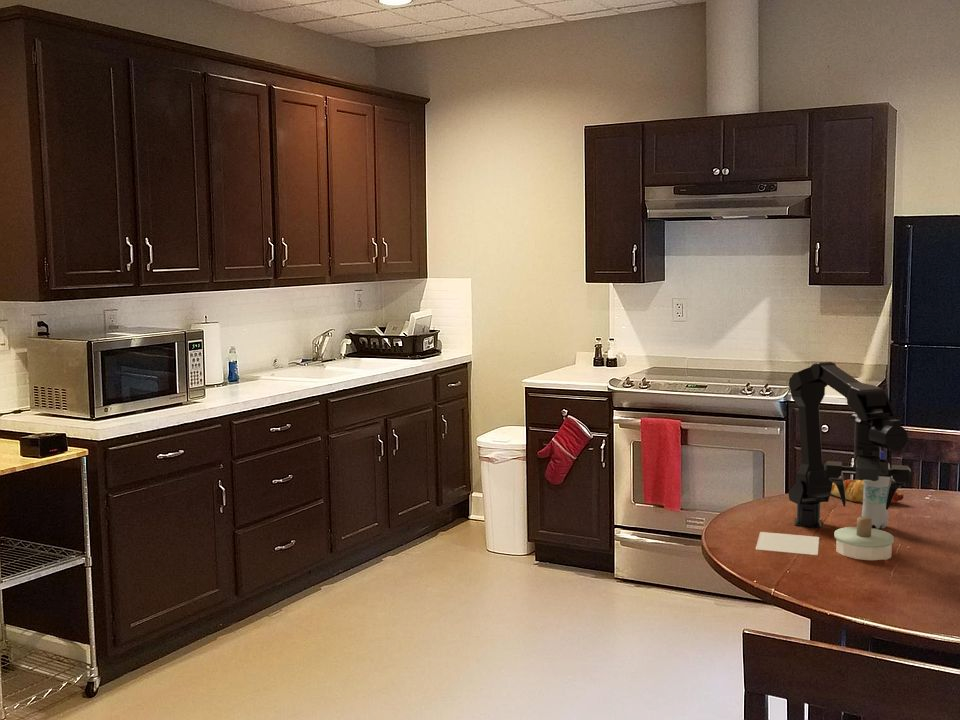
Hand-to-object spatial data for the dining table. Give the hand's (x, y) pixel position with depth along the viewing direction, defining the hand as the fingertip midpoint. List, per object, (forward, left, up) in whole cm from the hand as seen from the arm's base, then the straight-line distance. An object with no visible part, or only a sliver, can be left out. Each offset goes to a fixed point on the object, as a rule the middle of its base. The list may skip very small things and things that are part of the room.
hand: (865, 507), depth 228 cm
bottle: (-22, +3, -11) cm, 25 cm away
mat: (-1, -17, -11) cm, 20 cm away
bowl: (0, 0, -11) cm, 11 cm away
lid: (0, 0, -8) cm, 8 cm away
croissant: (-49, +1, -11) cm, 50 cm away
